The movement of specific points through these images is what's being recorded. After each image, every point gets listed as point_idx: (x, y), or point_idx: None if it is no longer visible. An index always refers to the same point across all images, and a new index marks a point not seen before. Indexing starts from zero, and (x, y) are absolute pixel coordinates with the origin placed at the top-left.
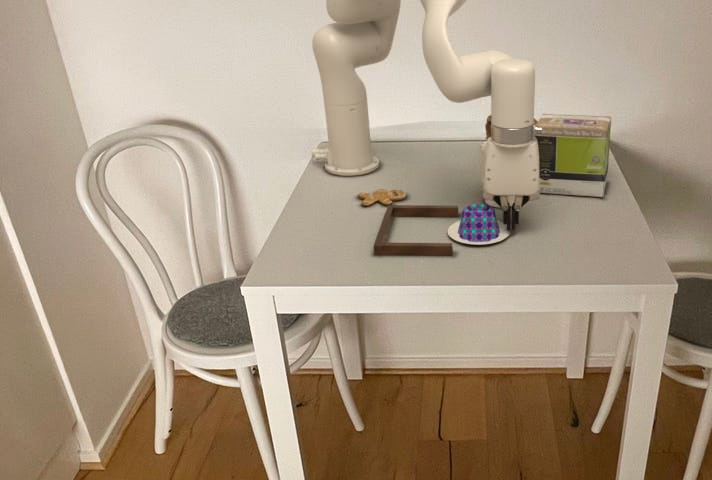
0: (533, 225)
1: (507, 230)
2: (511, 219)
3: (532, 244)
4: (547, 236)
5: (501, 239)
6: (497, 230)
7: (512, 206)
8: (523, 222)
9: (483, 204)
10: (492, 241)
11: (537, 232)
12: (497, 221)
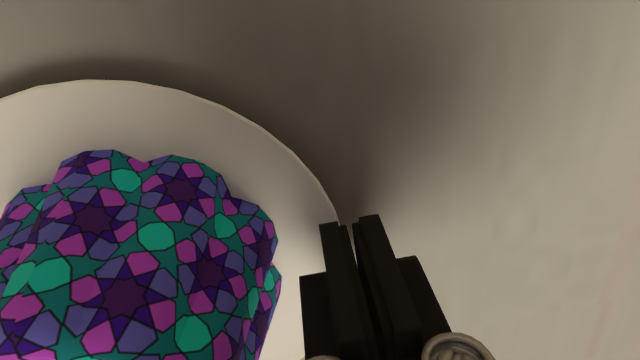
0: (491, 66)
1: None
2: (368, 304)
3: (468, 300)
4: (561, 205)
5: None
6: (273, 306)
7: (393, 344)
8: (417, 24)
9: (81, 353)
10: (263, 347)
11: (508, 168)
12: (223, 119)
